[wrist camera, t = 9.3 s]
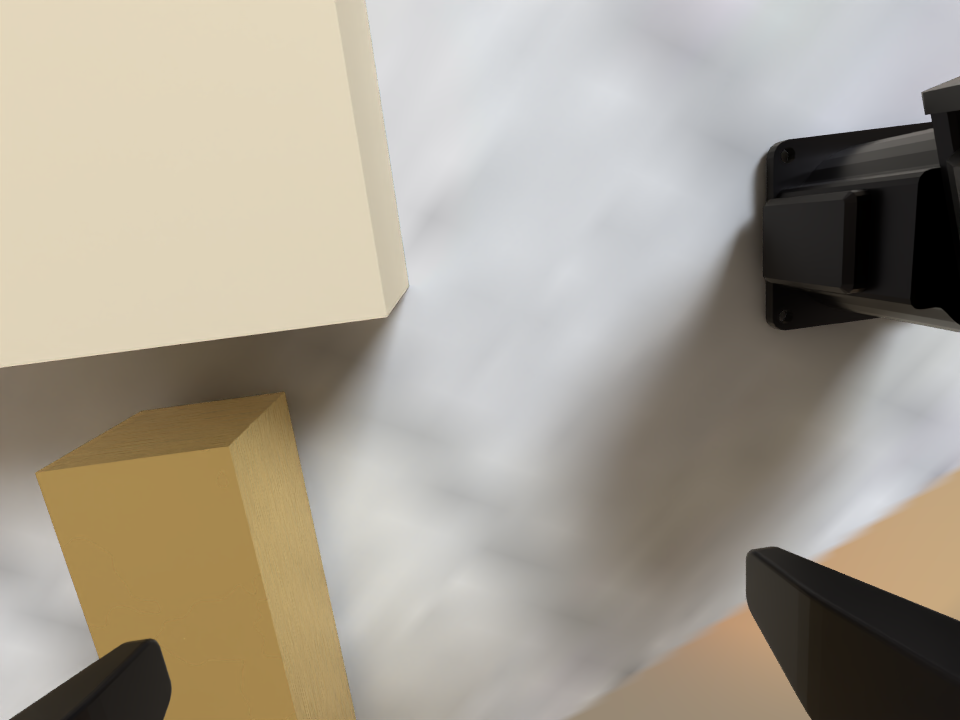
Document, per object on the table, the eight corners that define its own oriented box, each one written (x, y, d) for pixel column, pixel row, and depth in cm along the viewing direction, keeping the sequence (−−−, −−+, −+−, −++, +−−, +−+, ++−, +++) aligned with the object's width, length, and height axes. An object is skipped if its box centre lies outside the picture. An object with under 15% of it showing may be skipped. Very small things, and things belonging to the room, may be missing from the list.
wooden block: (315, 380, 19) (255, 448, 13) (392, 760, 23) (373, 944, 17) (134, 404, 19) (-11, 484, 13) (243, 783, 23) (172, 978, 17)
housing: (359, -39, 16) (295, -241, 9) (408, 286, 19) (386, 317, 12) (-109, 12, 16) (-540, -160, 9) (2, 338, 18) (-272, 403, 11)
